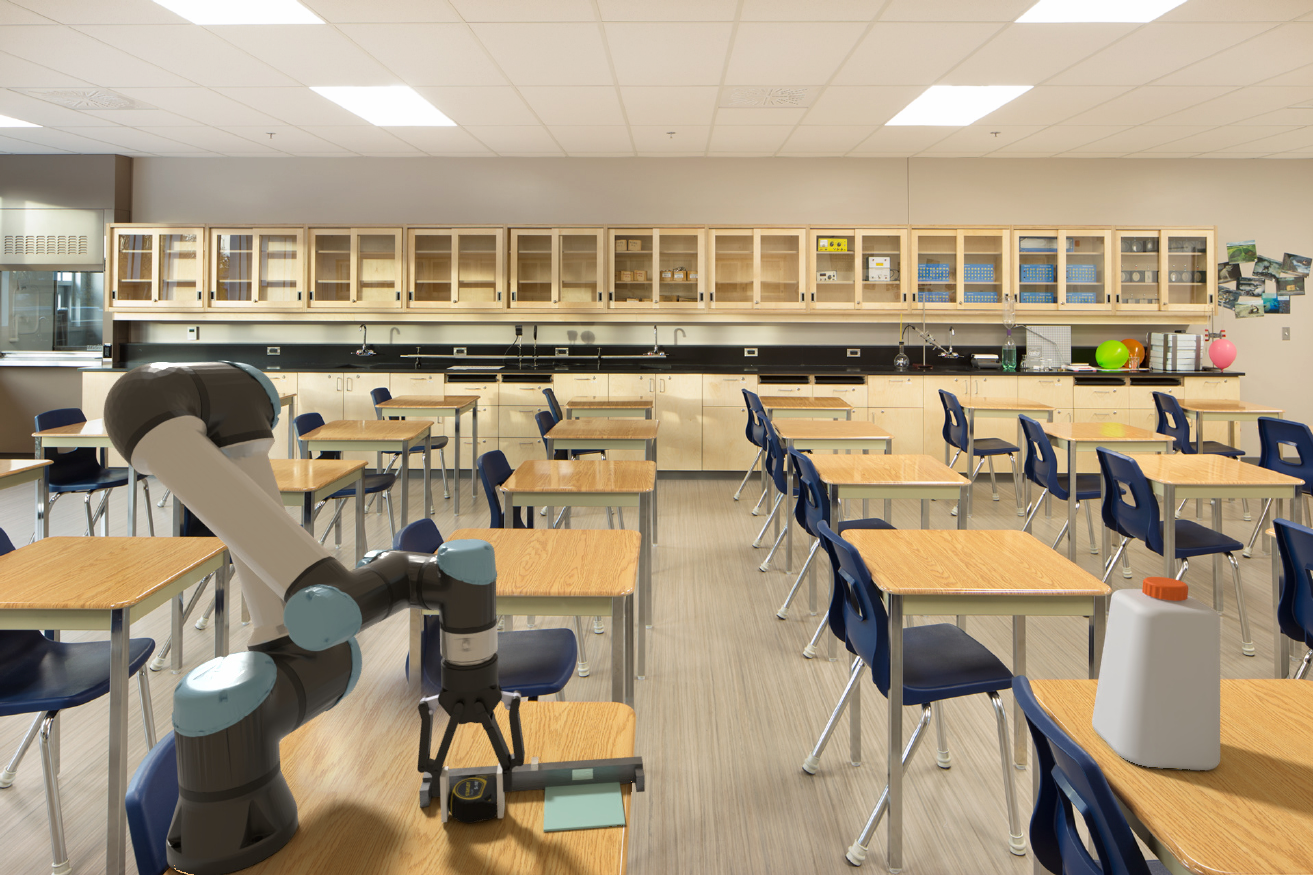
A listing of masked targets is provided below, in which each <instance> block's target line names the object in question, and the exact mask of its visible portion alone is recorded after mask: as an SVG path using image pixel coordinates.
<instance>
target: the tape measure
mask: <svg viewBox="0 0 1313 875" xmlns="http://www.w3.org/2000/svg"><path fill="white" fill-rule="evenodd" d="M449 811H450V812H449V814H451V817H452V819H454V820H456V821H458V822H461V823H466V824H468V823H469V824H473V823H475V822H476V823H477V822H481V821H486V820H487V821H488V820H491V819H494V818H496V816H498V809H497V778H496V777H488V778H487V779H484V778H479V777H473V778H468V779H465V780H462V781H460V782H458V783H457V784H455V785H454V787H453V788H452V790H451V792H450V794H449Z"/></svg>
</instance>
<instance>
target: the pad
mask: <svg viewBox="0 0 1313 875" xmlns="http://www.w3.org/2000/svg"><path fill="white" fill-rule="evenodd" d="M543 807H544V810H543V813H544V814H543V833H545V832H556V831H557V832H558V831H569V830H572V831H573V830H584V829H594V828H595V829H597V828H610V827H609V826H612V827H618V826H617V825H621V826H620V827H623V826H626V818H625V812H624V806H623V798H622V790H621V784H620V782H614V783H599V784H584V785H570V786H555V787H545V789H544V806H543ZM622 825H623V826H622Z"/></svg>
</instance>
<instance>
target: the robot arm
mask: <svg viewBox="0 0 1313 875" xmlns="http://www.w3.org/2000/svg"><path fill="white" fill-rule="evenodd" d="M281 413H282V404H281V399H280V395H279V392H278V390H277V388H276V386H275V384H274V383H273V381H272V380H271V378H270V377H269V376H268V375H267V374H266V373H264V372H263V371H262V370H260V369H258V368H256V367H255V366H252V365H251V364H247V363H243V362H233V361H227V360H217V361H201V362H200V361H199V362H164V361H163V362H162V361H161V362H160V361H159V362H150V363H145V364H143V365H139V366H137V367H134V368H133V369H131V370H128V371H126V372H125V373H124V374H122V375H121V376H120V377H119V378H117V380H116V381H115V382H114V383H113V385H112V386H111V387H110V389H109V391H108V393H107V396H106V397H105V401H104V406H103V422H104V428H105V429H106V433H107V435H108V438H109V440H110V441H111V444H112V445H113V447H114V449H115V450H116V451H117V453H118V454H119V455H120V456H121V458H123V459H124V461H126V463H128V464H129V465H130V467H132V468H133V469H134V470H135V471H136V472H137V473H139V474H141V475H144V476H145V475H146V476H154V477H155V478H156V479H157V480H158V481H159V482H160V483H161V484H162V485H163V486H164V487H165V488H166V489H167V490H168V491H170V492H171V494H173V495H174V497H176V498H177V499H178V500H179V501H180V503H182V504H183V505H184V506H185V507H186V508H187V509H188V510H189V511H190V512H191V513H192V514H193V515H194V516H195V517H196V518H197V519H199V521H200V522H201V523H202V524H204V525H205V527H207V528H208V529H209V531H211V532H212V533H213V534H214V535H215V536H216V537H217V538H218V539H219V541H221V542H222V543H223V544H224V545H225V546H226V547H227V550H228V551H229V554H230V558H231V561H232V565H233V567H234V570H235V573H236V576H237V579H238V583H239V585H240V589H241V592H242V595H243V597H244V601H245V604H246V607H247V611H248V613H249V616H250V621H251V623H252V626H253V631H252V633H251V634H250V637H249V638H248V640H247V642H246V643H245V644H246V647H247V650H248V651H247V650H246V651H245V650H244V651H238V652H231V653H229V654H228V655H226V656H217V657H214V658H212V659H209V660H208V661H205V662H203V663H202V664H200V665H198V666H196V667H194V668H192V669H191V670H190V671H189V672H188V673H186V674H185V675H184V676H183V677H181V679H180V680H179V682H178V683H177V685H176V686H175V689H174V691H173V696H172V698H173V699H172V704H173V705H172V708H173V709H172V712H171V724H172V727H173V733H174V742H175V756H176V768H177V769H176V770H177V782H178V783H177V784H178V799H177V802H176V805H175V808H174V812H173V816H172V819H171V822H170V826H169V829H168V832H167V836H166V840H165V849H166V861H167V864H168V866H169V868H171V869H172V870H173V868H176V870H180V871H182V872H186V873H188V874H194V875H225V874H230V873H234V872H236V871H241V870H243V869H245V868H248V867H250V866H253V865H255V864H257V863H260V862H262V861H263V860H265V859H267V858H269V857H271V856H272V855H273V854H276V853H277V852H278V851H279V850H280V849H282V848H283V847H284V846H285V845H286V844H287V843H288V842H290V840H292V838H293V836H294V835H295V833H296V832H297V829H298V826H299V815H298V814H299V813H298V805H297V802H296V800H295V798H294V795H293V793H292V791H291V789H290V787H289V784H288V782H287V780H286V779H285V777H284V774H283V772H282V769H281V768H282V767H281V752H280V742H281V740H282V739H283V738H286V737H287V736H289V735H290V734H292V733H293V732H295V731H296V730H298V729H300V728H301V727H302V726H304V725H306V724H308V723H309V722H311V721H312V720H314V719H315V718H317V717H319V716H320V715H321V714H323V713H324V712H329V711H331V710H332V709H333V708H334V707H336V706H337V705H338V704H339V703H340V702H342V700H344V699H345V698H346V697H348V696H349V695H350V694H351V693H352V692H353V690H354V689H355V688H356V685H357V683H358V682H359V680H360V678H361V674H362V669H363V655H362V650H361V646H360V644H359V642H358V640H357V638H356V637H355V636H356V635H358V634H361V632H363V631H365V630H367V629H369V628H371V627H373V626H374V625H376V624H378V623H381V622H382V621H384V620H386V619H388V618H390V617H392V616H394V615H396V614H398V613H399V612H401V611H403V610H406V609H416V610H425V611H437V612H438V616H439V639H440V640H439V645H440V647H439V648H440V650H439V651H440V656H441V657H442V658H441V660H440V677H441V679H440V680H441V688H440V689H441V690H440V691H439V693H438V694H436V695H432V696H429V695H427V694H425V695H423V696H421V699H420V700H419V704H418V706H417V710H418V712H419V713H418V714H419V716H420V720H421V723H420V733H419V735H420V736H419V745H418V746H419V747H418V756H417V772H418V773H420V774H424V772H428V773H430V774H431V776H432V793H433V796H434V797H433V798H435V797H440V819H441V821H440V823H447V822H448V819H449V816H450V811H449V769H450V768H449V767H450V766H448V765H447V766H446V765H445V761H446V758H447V755H448V753H449V749H450V747H451V744H452V741H453V739H454V736H455V733H456V731H457V727H458V726H459V725H465V724H468V723H469V724H470V723H472V724H473V723H474V724H481V726H482V728H483V730H484V731H485V733H486V735H487V737H488V739H489V741H490V744H491V746H492V748H493V751H494V753H495V756H496V758H497V760H498V763H497V766H498V769H497V819H503V818H504V816H505V814H504V813H505V807H506V806H505V805H506V801H505V799H506V798H505V793H509V792H512V791H511V788H512V769H513V768H514V767H516V766H522V765H523V764H525V757H526V756H525V755H526V750H525V745H524V744H525V743H524V737H523V729H522V723H521V721H522V720H521V713H520V706H521V700H522V692H521V691H520V690H514V691H513V692H509V691H503V689H502V687H501V686H500V682H499V655H498V653H496V652H497V651H498V650H499V648H498V647H499V646H498V640H499V639H498V638H499V637H498V621H497V620H498V619H497V617H498V616H497V578H498V571H497V567H496V556H495V555H496V553H495V548H494V546H493V545H492V544H491V543H490V542H488V541H486V540H484V539H478V538H477V539H476V538H467V539H465V538H464V539H463V538H461V539H458V538H457V539H453V540H449V541H446V542H444V543H442V544H441V545H439V547H438V548H437V553H427V552H419V551H418V552H416V551H406V550H401V549H396V548H389V549H373V550H371V551H367V552H366V553H364V554H363V558H362V559H360V560H359V561H358V562H357V564H356V566H355V568H354V569H352V570H349V569H347V568H346V567H345V566H344V564H342V563H341V562H340V561H339V560H338V559H337V558H336V557H334V555H332V554H331V553H330V552H329V551H328V550H327V549H326V548H325V547H324V545H322V544H321V543H320V542H319V541H318V540H317V539H315V538H314V536H313V535H312V534H310V533H309V532H308V530H306V529H305V528H304V527H303V526H302V525H301V524H300V523H299V522H298V521H296V519H294V517H292V515H290V514H289V513H288V512H287V510H286V508H285V504H284V500H283V498H282V495H281V491H280V489H279V486H278V482H277V480H276V476H275V473H274V471H273V466H272V464H271V461H270V458H269V452H270V451H271V449H272V447H273V446H274V444H275V442H276V439H275V437H274V434H273V430H274V429H275V428H276V427H277V425H278V423H279V422H280V421H279V420H280V417H279V415H280V414H281ZM500 702H502V703H503V704H504V709H505V710H507V711H509V712H508V721H509V730H510V735H511V742H512V749H513V753H511V752H510V750H509V747H508V745H507V742H506V740H505V738H504V735H503V732H502V731H501V728H500V726H499V724H498V721H497V718H496V714H495V712H494V711H495V709H496V708H497V706H498V705H499V703H500ZM439 705H440V706H441V708H442V709H443V710H444V711H445V712H446V714H448V716H449V719H448V723H447V725H446V728H445V731H444V734H443V736H442V739H441V742H440V745H439V748H438V749H437V750H438V751H437V753H436V756H435V758H431V750H432V749H431V747H432V736H433V725H434V715H435V713H436V712H437V709H438V706H439ZM174 865H175V866H174Z"/></svg>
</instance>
